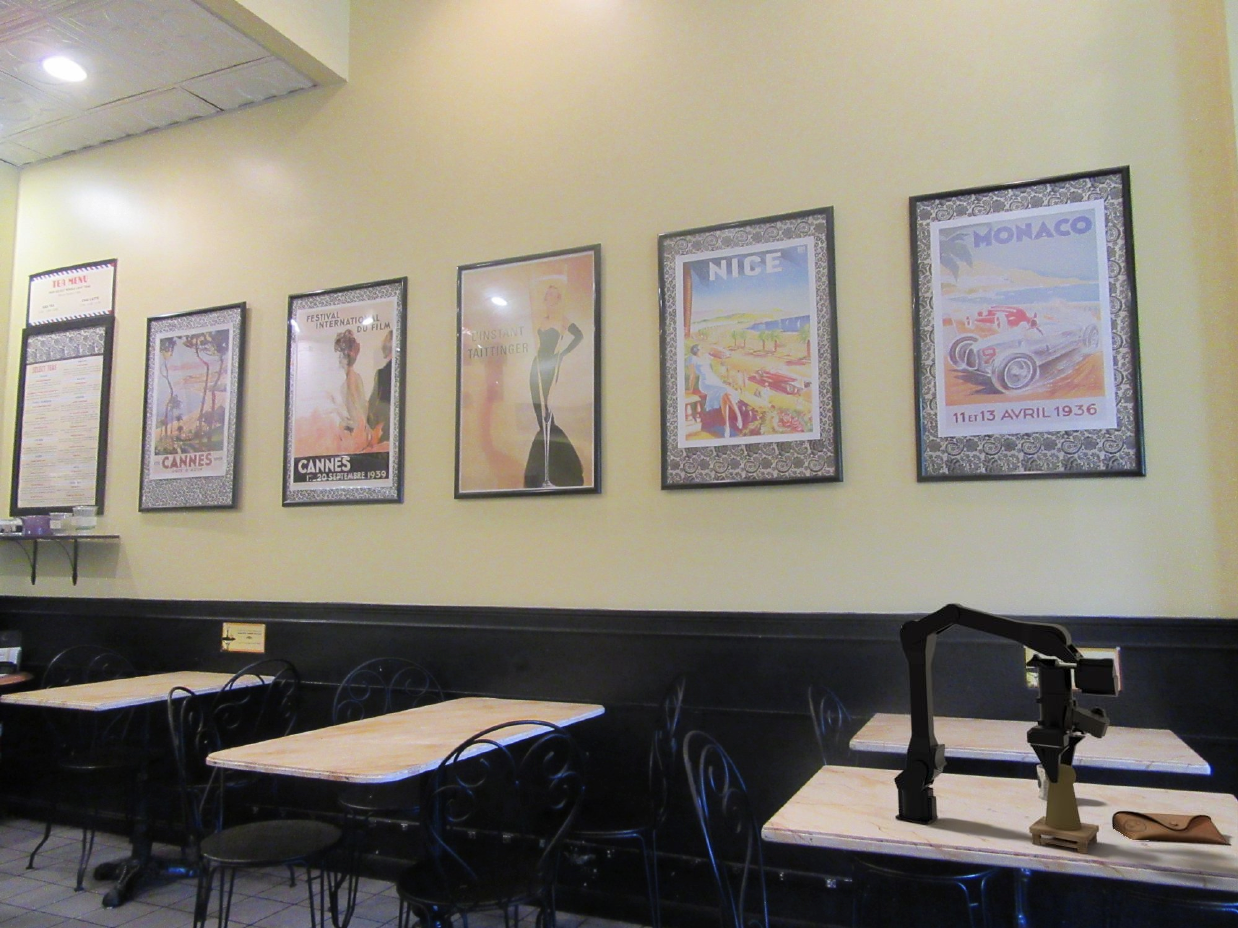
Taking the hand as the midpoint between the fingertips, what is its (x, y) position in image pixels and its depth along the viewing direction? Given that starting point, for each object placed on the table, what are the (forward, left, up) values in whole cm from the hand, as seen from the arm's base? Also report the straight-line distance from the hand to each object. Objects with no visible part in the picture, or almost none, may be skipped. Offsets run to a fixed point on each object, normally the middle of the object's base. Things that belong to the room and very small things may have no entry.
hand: (1060, 778), depth 161 cm
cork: (0, 0, -9) cm, 9 cm away
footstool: (0, 0, -12) cm, 12 cm away
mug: (-10, +32, -12) cm, 36 cm away
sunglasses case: (+14, +18, -12) cm, 26 cm away
